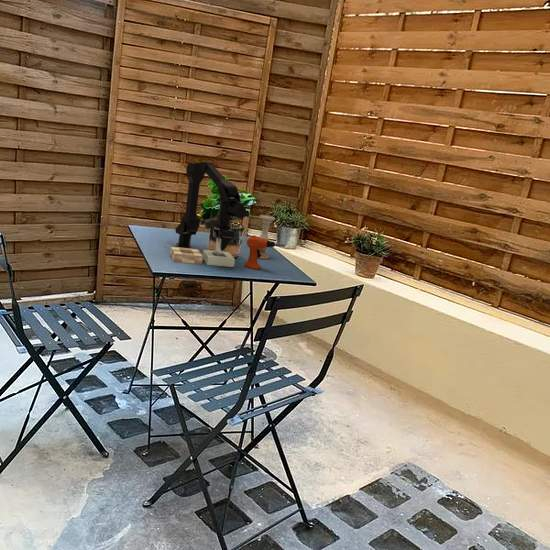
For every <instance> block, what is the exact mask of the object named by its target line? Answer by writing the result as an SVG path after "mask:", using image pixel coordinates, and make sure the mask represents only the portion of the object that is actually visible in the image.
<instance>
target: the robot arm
mask: <svg viewBox="0 0 550 550" xmlns="http://www.w3.org/2000/svg"><path fill="white" fill-rule="evenodd" d="M185 171H186V174H185V175H186V179H187V181H188V187H187V195H186V196H187V198H186V203H185V204H186V205H185V213H184V214H183V215H182V217H181V220H180V223H179V224H178V225H177V226H176V227H175V229H174V230H175V233H176V234H177V235H179V237H178V242H176V247H180V248H190V249H193V248H192V245H191V243H192V242H191V241H192V236H196V235H197V232H198V230H199V228H200V222H201V219H200V218H199V217H198V215H197V210H198V208H197V207H198V203H199V202H198V201H199V194H200V193H199V192H200V186H201V183H202V181H203V180H204V178H205V175H207V176H208V178H209V179H211V181H212V182H213V183H214V185H215V186H216V189H217V190H216V191H217V193H218V194H219V198H217V202H219V209H218V213H217V214H216V216H215V217H211V218H208V219H203V223H204V228H205V229H207V230H210V229H212V231H213V232H214V234H215V241H216V240H217V237H220V238H221V251H224V252H225V249H226V248H227V246H228V245H229V243H230V242H231V240H233V239H234V238H235V235H236V234H235V232H234V230H232V226H231V221H232V220H233V218H236V219H238V220H242V219H244V218H245V217H246V215H247V208H246V207H245V202H242V201H241V197H240V194H239V189H238V186H236V185H235V184H234V183H233V182H230V181H229V180H227V179H226V178H225V177H224V176H223V174H222V173H221V171H219V170H218V169H217V167H215V163H213V162H210V161H202V162H189V163H188V164H187V166H186V170H185Z"/></svg>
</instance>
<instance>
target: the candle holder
mask: <svg viewBox="0 0 550 550" xmlns="http://www.w3.org/2000/svg"><path fill="white" fill-rule="evenodd" d="M259 219H262V222H263V224H262V226H261V228H262V231H261V234H260V235H259V237H260V238H264V239H267V240H269V241H270V239H269V236H268V233H269V229H270V224H271V223H272V221H275V220H276V217H275V216H272V215H269V214H268V215H267V214H260V215H259ZM267 249H268V248H267V247H266V248H261V249H258V250H260V254H261V257H259V258H258V259H261V260H269V259H270V255H269V254H268V253H267V252H266V250H267Z"/></svg>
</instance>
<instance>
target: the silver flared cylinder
mask: <svg viewBox="0 0 550 550" xmlns="http://www.w3.org/2000/svg"><path fill="white" fill-rule="evenodd" d="M214 247H215V248H214V251H215V253H214V256H222V257H223V254H224V252H225V250H224V251H221V238H220V237H217V240H216V239H215V246H214Z"/></svg>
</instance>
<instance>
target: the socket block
mask: <svg viewBox="0 0 550 550" xmlns="http://www.w3.org/2000/svg"><path fill="white" fill-rule="evenodd" d="M169 255H170V257H171V258H172V261H173V262H174V263H183V264H184V263H185V264H196V265H203V256H202V253H201V252H200V250H199V249H198V248H181V247H178V246H170V249H169Z"/></svg>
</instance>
